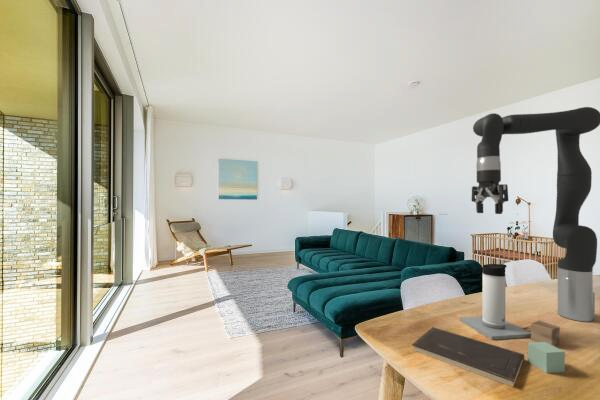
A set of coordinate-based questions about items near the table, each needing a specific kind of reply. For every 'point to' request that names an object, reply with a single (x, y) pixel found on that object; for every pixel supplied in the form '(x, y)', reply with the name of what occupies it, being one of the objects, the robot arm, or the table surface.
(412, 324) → the table surface
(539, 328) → the walnut block
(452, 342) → the hardcover book
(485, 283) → the travel mug
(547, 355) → the sage block
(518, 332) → the slate board
